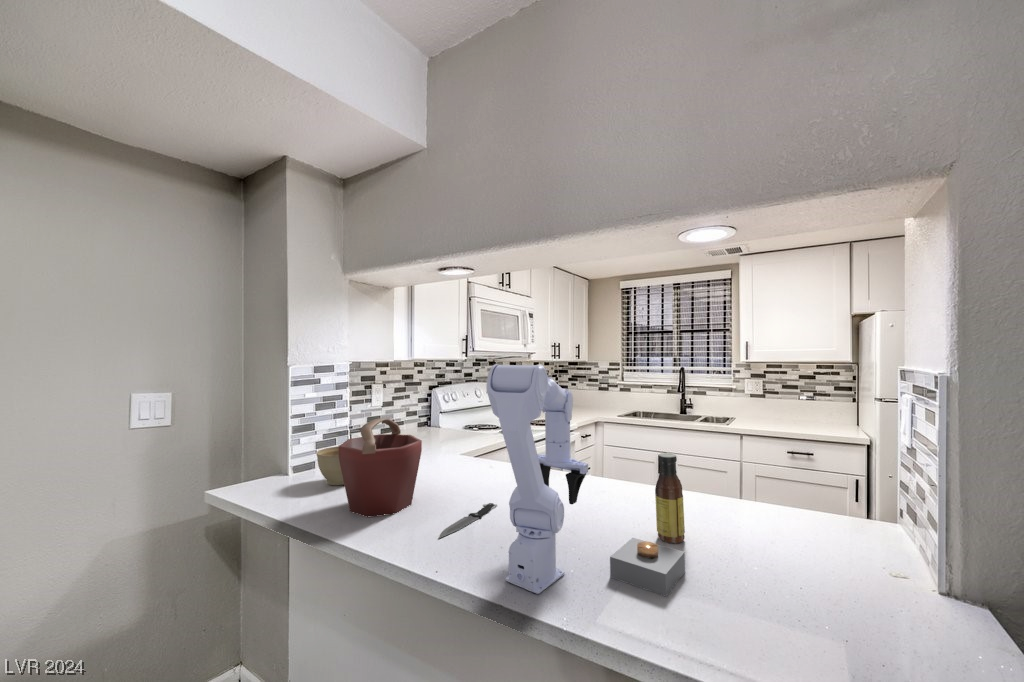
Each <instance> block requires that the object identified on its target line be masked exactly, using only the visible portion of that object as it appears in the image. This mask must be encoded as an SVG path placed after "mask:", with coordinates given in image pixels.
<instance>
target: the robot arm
mask: <svg viewBox="0 0 1024 682" xmlns="http://www.w3.org/2000/svg"><path fill="white" fill-rule="evenodd" d="M486 380H487V381H486V387H485V388H486V392H487V396H488V400H489V404H490V406H491V410H492V414H493V415H494V416H495V417H497V418H498V420H499V424H500V429H501V432H502V436H503V440H504V442H505V447H506V451H507V454H508V458H509V462H510V464H511V467H512V468H511V469H512V473H513V476H514V479H515V483H516V487H514V489H513V490H512V493H511V495H510V498H509V501H508V505H509V519H510V522H511V524H512V526H513V527H515V530H516V531H515V532H516V533H518V535H517V536H516V539H514V541H513V542H511V544H510V545H509V548H508V575H507V576H506V577H505V582H508V583H510V584H513V585H515V586H518V587H520V588H522V589H525V590H527V591H529V592H531V593H534V594H536V595H539V594H541V593H542V592H543V591H545V589H547V588H548V587H550V586H552V584H554V583H555V582H556V581H557V580H559V579H560V578H562V577H563V576H564V575H565V574H566V573H565V570H562V569H560V568H557V563H556V562H557V561H556V560H557V556H556V555H557V553H556V552H557V550H556V549H557V547H556V545H557V543H556V538H557V537H556V534H558V533H559V532H560V531H561V529H562V528H563V525H564V519H565V504H564V503H563V501H562V500H561V498H560V495H559V492H558V491H556V490H555V489H553V488H552V487H550V476H551V475H550V474H551V469H552V468H556V469H561V470H566V471H570V472H568V473H565V478H566V481H567V488H568V489H567V490H568V503H569V505H574V504H576V503H577V502H578V501H577V500H578V497H579V492H580V489H581V486H582V484H583V481H584V479H585V477H586V476H587V474H588V473H589V463H587V462H583V461H579V460H576V459H574V458H571V421H572V417H573V415H572V414H573V407H574V397H573V395H574V394H573V392H572V391H571V390H569V389H568V388H562V387H561V386H560V385H559V384H558V382H556V381H555V380H554V378H553V377H551V376H548V372H547V370H546V368H545V367H544V366H543V364H541V363H540V364H536V365H533V364H532V365H531V364H530V365H529V364H525V365H524V364H522V365H521V364H518V365H517V364H515V365H514V364H500V363H495V364H493V365H492V366H491V368H490V370H489V371H488V374H487V379H486ZM542 413H543V414H544V420H545V421H544V424H545V426H544V427H545V428H544V429H545V430H544V431H545V433H544V434H545V440H544V441H545V442H544V443H545V454H538V452H537V447H536V444H535V440H534V439H535V437H534V435H533V430H532V427H531V422H533V421H535V420H537V419H538V418H539V417H541V414H542Z"/></svg>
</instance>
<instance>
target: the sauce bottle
mask: <svg viewBox="0 0 1024 682" xmlns="http://www.w3.org/2000/svg"><path fill="white" fill-rule="evenodd" d="M657 459H658V462H659V473H658V478H657V481H656V484H655V489H654V490H655V491H654V492H655V493H654V494H655V495H654V496H655V515H656V516H655V517H656V532H657V536H658V538H659V539H660V540H661V541H662V542H663V541H664V543H668V544H680V543H682V542H684V541H685V539H686V538H685V532H686V531H685V511H684V495H683V486H682V483H681V479H679V476H678V474H677V460H678V459H677V455H676V454H675V453H669V452H661V453H659V454H658V458H657Z"/></svg>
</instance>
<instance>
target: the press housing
mask: <svg viewBox="0 0 1024 682" xmlns="http://www.w3.org/2000/svg"><path fill="white" fill-rule="evenodd" d="M643 541H644V539H643V540H642V539H639V538H635V537H631V538H630V539H629V540H628V541H627V542H626V543H625V544H623V545H622V546H621V547H619V549H617V550H616V551H614V553H613V554H612V555H610V556H609V578H612V579H614V580H617V581H621V582H623V583H625V584H629V585H632V586H635V587H637V586H638V587H637V588H641V589H644V590H646V591H648V592H649V591H650V592H652V593H655V594H657V595H661V596H664V597H667V596H668V595H669V594H670V592H671V591H672V590H673V588H674V587H675V586H676V585H677V583H678V582H679V580H681V578H682V577H683V576H684V574H685V573H686V560H685V559H686V552H685V551H682V550H680V549H675V548H671V547H668V546H666V545H661V544H657V543H655V544H656V545H657V546H658V556H657V557H653V558H651V559H649V558H646V557H643V556H641V555H639V554H638V553H637V544H638V543H639V542H643Z"/></svg>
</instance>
